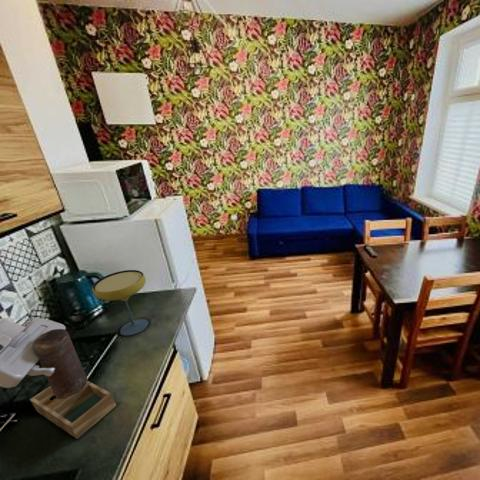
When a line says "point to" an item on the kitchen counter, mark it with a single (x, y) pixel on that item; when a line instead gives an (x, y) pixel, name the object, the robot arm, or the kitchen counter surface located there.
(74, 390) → the candle
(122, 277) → the cocktail glass
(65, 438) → the kitchen counter surface
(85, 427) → the tray
